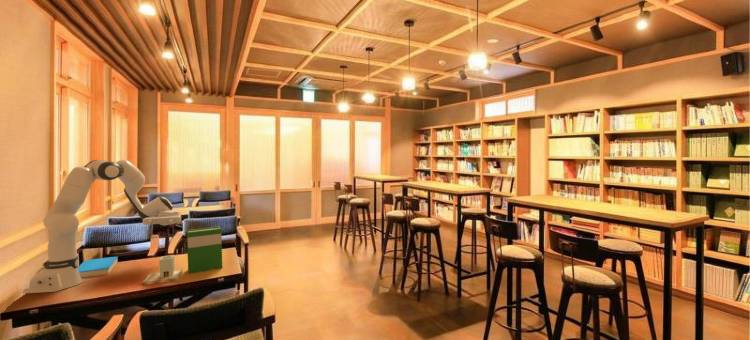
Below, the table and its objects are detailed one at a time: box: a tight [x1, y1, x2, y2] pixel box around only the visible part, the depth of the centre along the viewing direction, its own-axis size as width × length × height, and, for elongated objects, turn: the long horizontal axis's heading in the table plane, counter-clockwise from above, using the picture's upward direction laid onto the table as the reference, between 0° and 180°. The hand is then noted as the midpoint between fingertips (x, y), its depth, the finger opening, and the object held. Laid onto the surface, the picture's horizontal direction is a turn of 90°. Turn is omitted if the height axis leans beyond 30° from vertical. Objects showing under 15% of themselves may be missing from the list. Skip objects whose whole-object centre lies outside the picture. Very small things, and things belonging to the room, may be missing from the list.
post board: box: [142, 269, 183, 286], centre depth 187 cm, size 16×14×8 cm
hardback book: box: [186, 226, 223, 275], centre depth 201 cm, size 18×7×24 cm, turn 122°
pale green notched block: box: [158, 254, 176, 278], centre depth 187 cm, size 6×6×10 cm
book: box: [78, 256, 119, 279], centre depth 202 cm, size 17×4×25 cm
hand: (159, 222), depth 202 cm, fingers open, 8 cm apart
